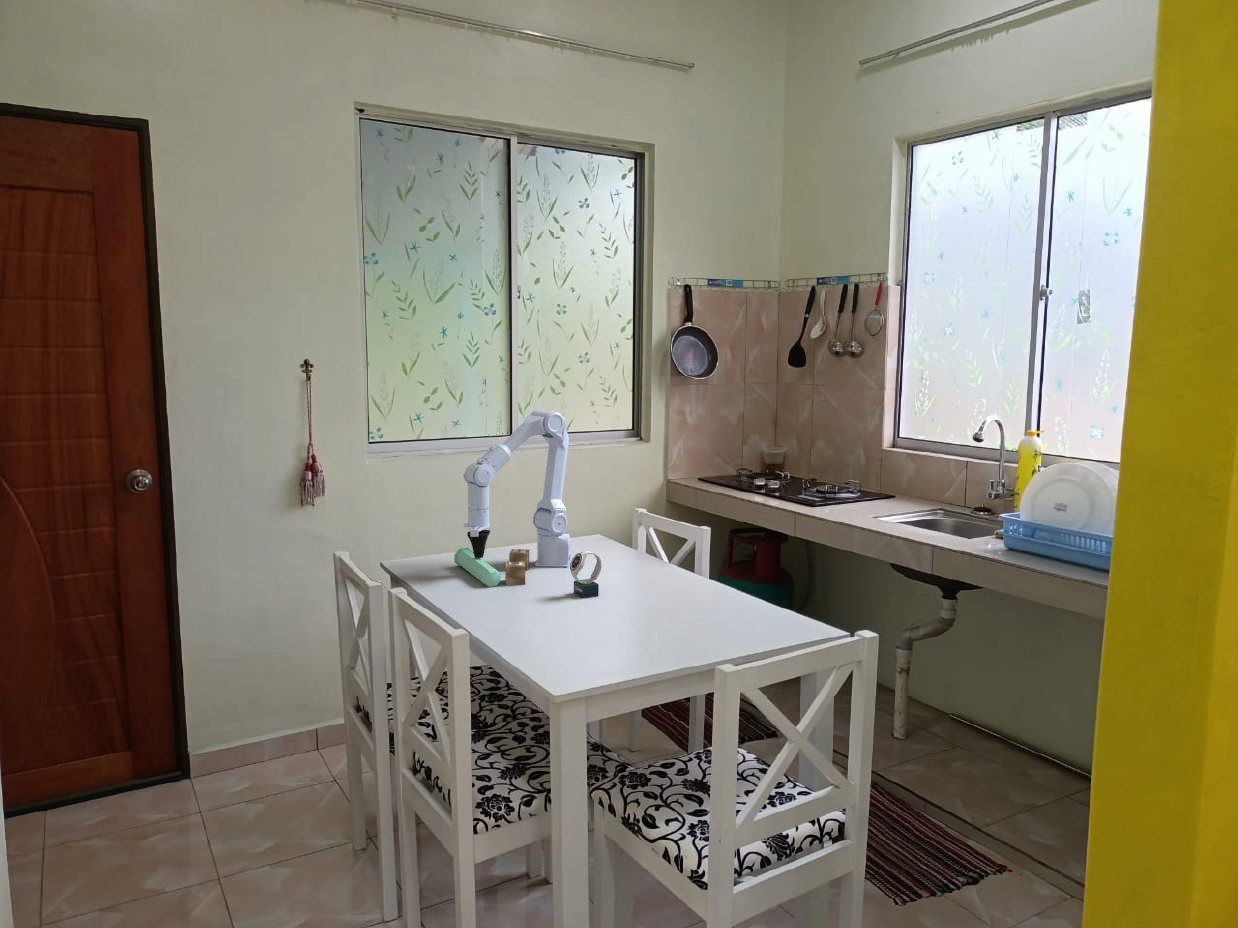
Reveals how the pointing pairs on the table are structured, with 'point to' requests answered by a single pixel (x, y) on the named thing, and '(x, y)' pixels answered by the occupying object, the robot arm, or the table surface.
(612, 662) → the table surface
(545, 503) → the robot arm
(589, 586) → the watch
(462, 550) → the container
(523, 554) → the labelled block
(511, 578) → the labelled block
